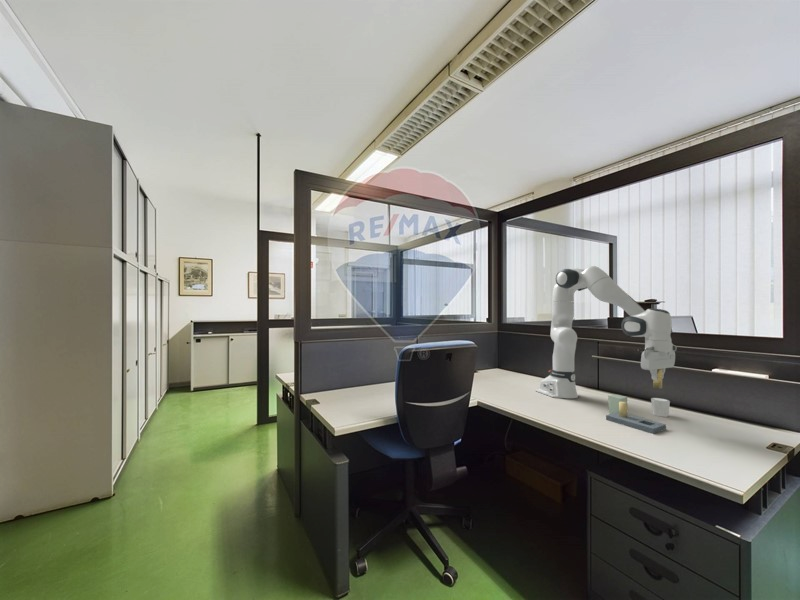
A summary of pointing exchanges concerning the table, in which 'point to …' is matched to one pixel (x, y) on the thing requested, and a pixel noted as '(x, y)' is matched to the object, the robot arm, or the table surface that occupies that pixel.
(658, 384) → the pin
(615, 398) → the block
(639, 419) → the pin board
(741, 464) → the table surface
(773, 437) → the table surface
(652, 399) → the shot glass
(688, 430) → the table surface
